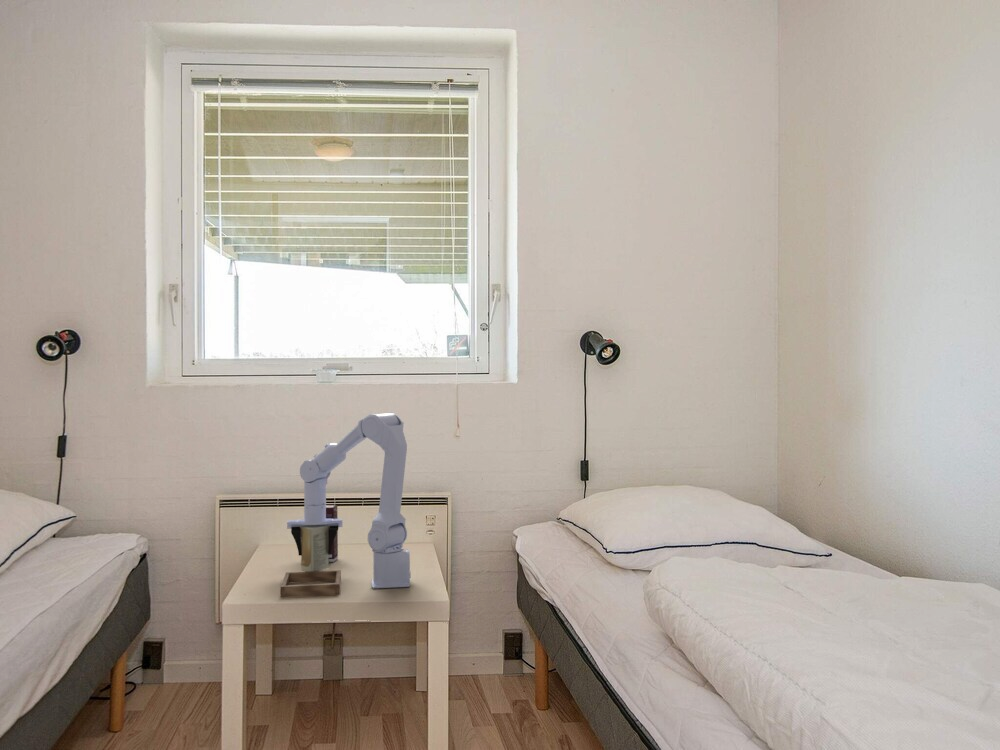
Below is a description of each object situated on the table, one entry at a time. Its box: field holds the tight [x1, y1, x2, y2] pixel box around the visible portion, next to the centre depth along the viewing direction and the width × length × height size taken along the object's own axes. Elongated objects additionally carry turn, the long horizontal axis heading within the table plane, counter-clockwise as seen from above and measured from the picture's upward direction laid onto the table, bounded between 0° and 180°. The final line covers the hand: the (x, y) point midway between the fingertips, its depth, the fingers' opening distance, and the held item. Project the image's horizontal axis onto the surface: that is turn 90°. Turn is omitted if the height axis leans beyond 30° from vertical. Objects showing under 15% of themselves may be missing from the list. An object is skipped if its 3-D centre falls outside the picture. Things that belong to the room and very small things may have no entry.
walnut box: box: [280, 569, 342, 598], centre depth 194 cm, size 14×14×2 cm
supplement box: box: [326, 504, 339, 563], centre depth 224 cm, size 9×5×16 cm, turn 88°
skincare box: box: [300, 525, 329, 572], centre depth 208 cm, size 6×4×12 cm
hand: (315, 554), depth 208 cm, fingers closed on skincare box, 7 cm apart
